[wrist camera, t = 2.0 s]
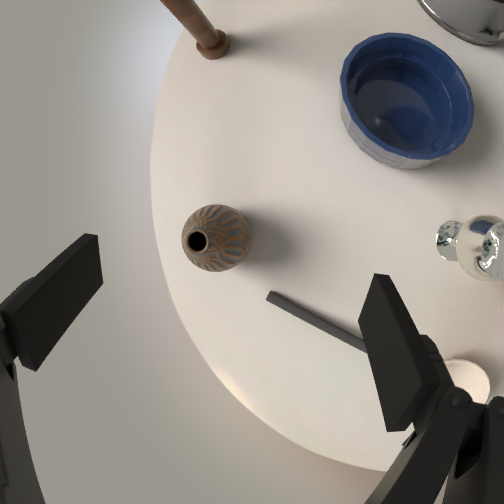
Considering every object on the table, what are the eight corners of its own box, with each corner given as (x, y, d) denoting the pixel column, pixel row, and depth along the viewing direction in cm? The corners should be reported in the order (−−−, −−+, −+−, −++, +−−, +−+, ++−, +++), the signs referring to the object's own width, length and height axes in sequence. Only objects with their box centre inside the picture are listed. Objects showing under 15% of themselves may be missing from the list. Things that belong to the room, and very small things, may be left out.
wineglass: (422, 255, 31) (464, 272, 20) (440, 206, 30) (488, 201, 19) (463, 274, 30) (514, 298, 19) (480, 227, 29) (536, 232, 18)
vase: (196, 209, 37) (159, 208, 29) (253, 202, 35) (229, 197, 27) (203, 268, 38) (168, 282, 29) (260, 263, 36) (238, 278, 27)
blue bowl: (374, 41, 30) (379, 12, 24) (468, 106, 28) (490, 87, 22) (316, 123, 33) (313, 103, 27) (418, 194, 31) (436, 189, 25)
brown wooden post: (212, 31, 34) (140, -57, 16) (236, 40, 34) (170, -56, 15) (195, 53, 35) (111, -28, 17) (218, 63, 35) (139, -25, 16)
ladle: (460, 416, 31) (466, 434, 27) (266, 315, 40) (253, 324, 36) (495, 367, 29) (505, 382, 25) (293, 259, 38) (283, 262, 34)
